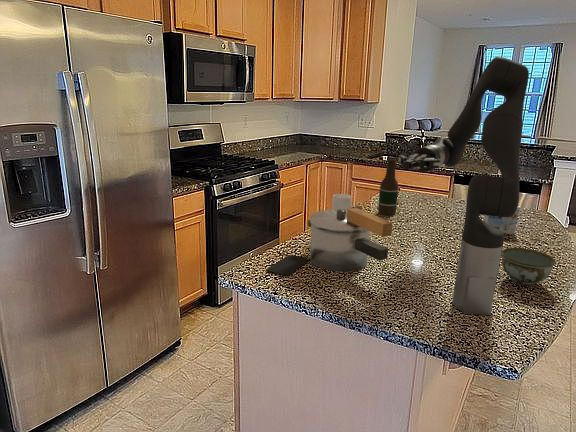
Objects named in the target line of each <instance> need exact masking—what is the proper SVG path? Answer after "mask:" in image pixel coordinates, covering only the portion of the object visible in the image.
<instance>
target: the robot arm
mask: <svg viewBox="0 0 576 432" xmlns="http://www.w3.org/2000/svg"><path fill="white" fill-rule="evenodd" d="M529 72H530V71H529V69H528V67H527V66H526V65H524V64H522V63H520V62H517V61H515V60H512V59H509V58H507V57H503V56H499V55H498V56H496V57H494V58H492V59H491V60H490V61H489V63H487V65H486V67H485V68H484V70H483V72H482V73H481V75H480V77H479V78H478V81H477V83H476V84H475V86H474V88H473V90H472V92H471V94H470V96H469V98H468V100H467V102H466V104H465V105H464V107H463V110H462V111H461V113H460V114H459V115H458V117H457V118H456V120H455V121H454V123H453V124H452V125H451V127H450V128H449V130H448V132H447V137H443V136H442V137H439V138H437V139H436V140H435V141H434V142H433V144H431V145H429V144H428V145H426V146H422V147H419V148H417V149H416V150H415V151H414V152H413V154H412V155H411V154H410V155H407V156H406V155H403V154H399V155H398V164H399V165H400V166H401V167H403V169H404V170H411V169H414V170H415V169H416V170H417V171H419V172H421V173H423V172H424V173H426V172H429V171H432V170H436V169H437V170H438V169H439V168H440V166H442V165H444V166H446V167H449V168H451V167H452V168H453V167H455V166H456V165H458V164H459V163H460V161H461V159H462V158H463V156H464V153H465V149H466V147H467V144H468V142H469V141H470V139H472V137H473V136H474V135H475V133H477V131H478V129H479V128H480V126H481V123H482V115H483V114H482V105H483V99H484V95H485V94H486V92H487V91H489V92H491V93H495V94H496V95H500V96H502V97H504V98H505V100H504V102H503V103H502V104H499V105H498V106H496V107H495V108H494V109H492V110H491V111H490V112H489V113H488V114H487V115H486V116H485V117H484V120H483V123H482V129H481V137H480V142H481V146H482V147H483V149H484V152H485V153H486V154H487V156H488V157H489V158H490V159H491V160H492V162H493V163H494V164H495V165H496V167H497V168H498V170H499V172H500V175H501V176H495V175H485V174H484V175H483V174H476V175H473V176H472V177H471V179H470V181H469V183H468V187H467V197H466V205H465V216H464V223H463V229H462V235H461V241H460V242H461V243H460V247H459V255H458V262H457V267H456V274H455V281H454V287H453V293H452V294H453V295H452V300H451V302H452V305H454V307H456V308H457V309H459V310H461V311H462V313H463V314H470V315H482V316H491V311H492V308H493V304H494V298H495V292H496V286H497V280H498V274H499V270H500V264H501V260H502V250H504V248H503V247H504V242H505V233H503V232H502V231H500V230H499V229H497V228H495V227H493V226H490V225H489V224H487V223H485V222H484V220H483V219H482V218H481V217H480V215H484V216H485V215H489V216H497V217H511V216H513V215H514V214H515V212H516V210H517V207H519V201H520V154H521V153H520V152H521V145H522V134H523V115H524V105H525V98H526V95H527V94H526V92H527V87H528V83H529V77H530V73H529Z"/></svg>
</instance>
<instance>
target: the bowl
mask: <svg viewBox="0 0 576 432" xmlns="http://www.w3.org/2000/svg"><path fill="white" fill-rule="evenodd" d="M501 264H502V268H503V270H504V272H505V273H506V274H507V276H508V277H510V279H511V281H512V282H513V283H514V284H517V285H520V286H524V287H532V286H535V285H536V284H538V283H540V282H542V281H544V280H547V278H548V277H549V275H550V274H551V273H552V271H553V267H554V265H555V264H556V259H555V258H554V257H552V256H551V255H549V254H548V253H545V252H542V251H539V250H535V249H530V248H525V247H506V248H503V249H502V254H501Z"/></svg>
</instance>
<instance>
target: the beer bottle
mask: <svg viewBox="0 0 576 432" xmlns="http://www.w3.org/2000/svg"><path fill="white" fill-rule="evenodd" d="M386 161H387V165H386V171H385V175H384V178H383V179H382V180H381V182H380V186H379V194H378V205H377V206H378V207H377V212H378V214H379V215H382V216H385V217H386V216H387V217H388V216H389V217H390V216H392V217H393V216H394V215H396V214H397V205H398V197H399V182H398V180H397V178H396V162H397V159H395V158H388V159H387V160H386Z"/></svg>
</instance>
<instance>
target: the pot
mask: <svg viewBox="0 0 576 432" xmlns="http://www.w3.org/2000/svg"><path fill="white" fill-rule="evenodd" d="M307 227H310V245H309V246H310V249H309V262H310V263H312V265H314V266H316V267H318V268H321V269H323V270H326V271H332V272H339V273H340V272H343V273H344V272H345V273H346V272H347V273H348V272H355V271H356V272H357V271H359V270H362V269H364V268H365V267H366V266H367V265H368V261H369V258H368V257H370V258H373V259H375V260H376V261H384V260H387V259H388V257H389V256H388V255H389V248H388V247H386V246H383V245H381V244H379V243H377V242H374V241H373V240H370V234H371V231H368V230H366V231H363V232H357V233H336V232H329V231H325V230H321V229H318V228H316V227H314V226H312V225H311V223H310V219H308V221H307Z"/></svg>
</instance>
